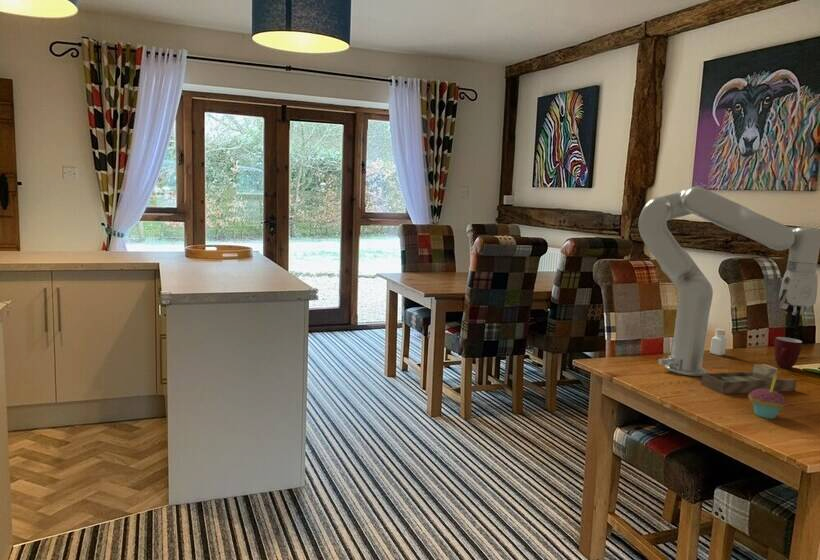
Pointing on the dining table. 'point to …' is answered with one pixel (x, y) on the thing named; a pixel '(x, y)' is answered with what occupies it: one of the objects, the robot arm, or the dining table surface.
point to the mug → (787, 351)
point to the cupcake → (767, 401)
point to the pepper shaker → (718, 343)
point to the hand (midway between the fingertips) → (791, 326)
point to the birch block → (764, 372)
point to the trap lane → (743, 382)
